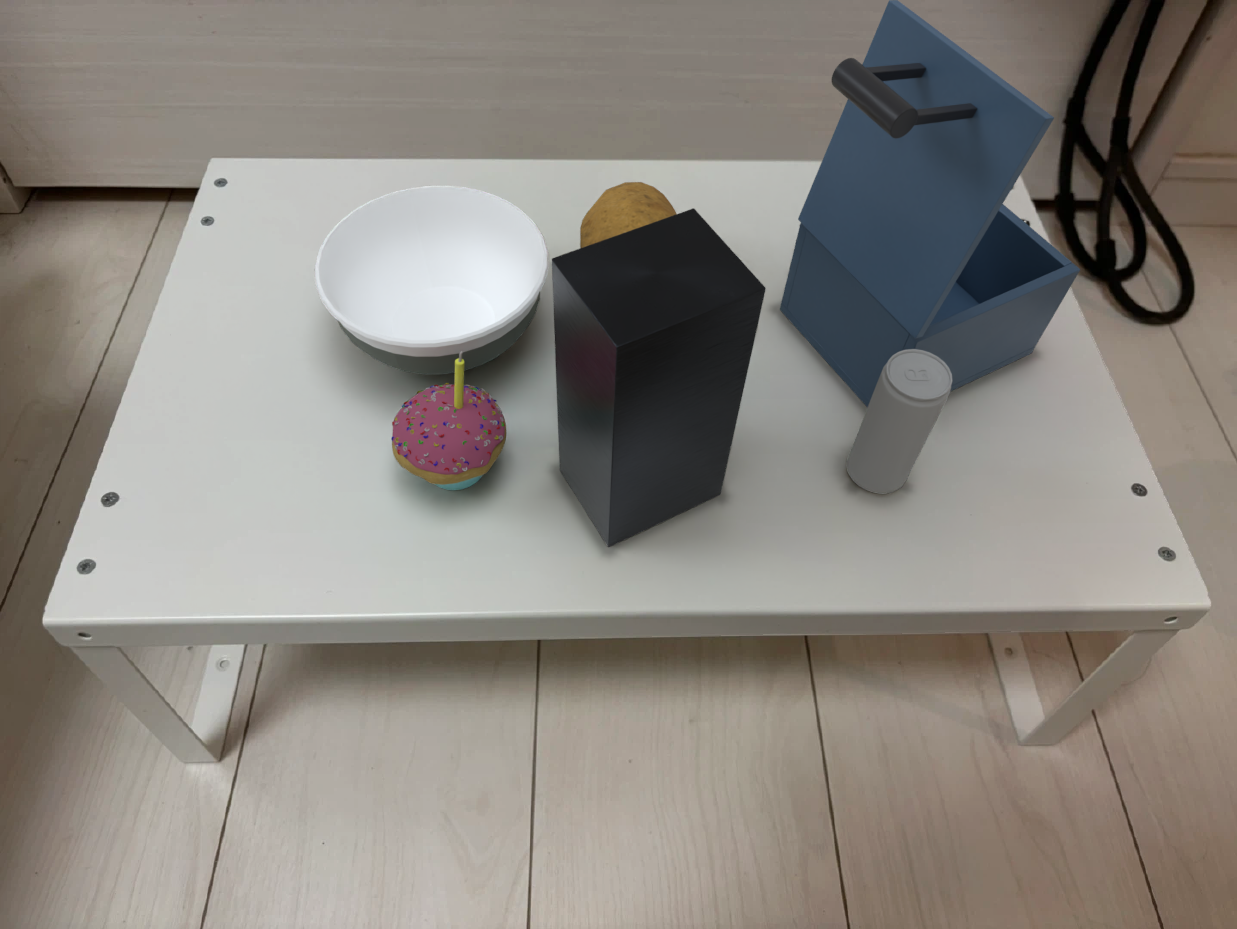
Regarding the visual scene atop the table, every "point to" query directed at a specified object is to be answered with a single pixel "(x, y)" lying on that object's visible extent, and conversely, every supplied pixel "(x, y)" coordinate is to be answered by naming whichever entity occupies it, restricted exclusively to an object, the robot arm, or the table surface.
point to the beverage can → (898, 420)
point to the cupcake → (449, 433)
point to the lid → (917, 164)
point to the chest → (965, 323)
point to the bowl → (433, 277)
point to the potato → (623, 211)
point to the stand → (650, 369)
